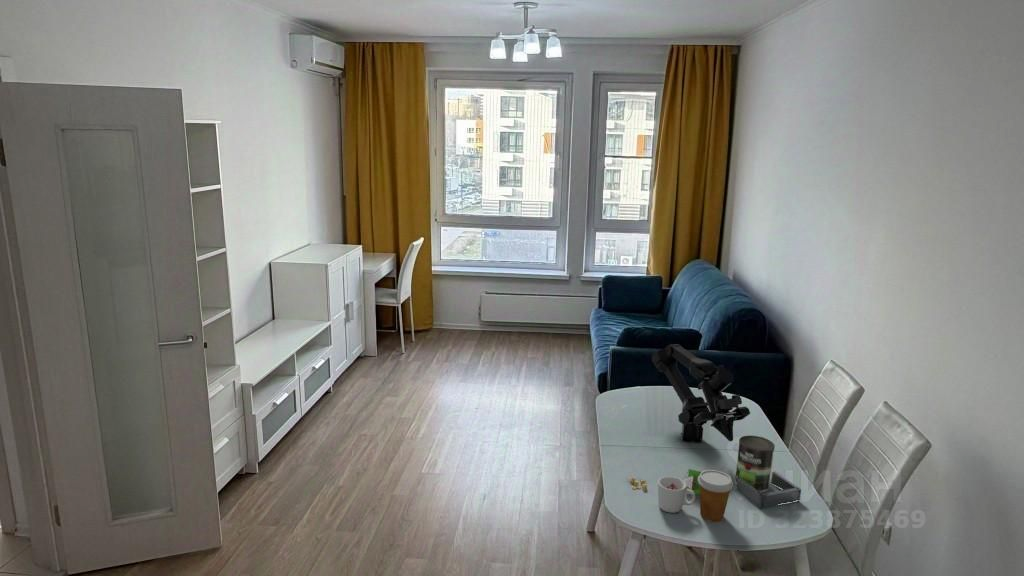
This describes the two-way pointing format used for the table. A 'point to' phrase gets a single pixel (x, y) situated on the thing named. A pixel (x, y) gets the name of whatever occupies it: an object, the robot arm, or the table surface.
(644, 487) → the dice set
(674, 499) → the cup
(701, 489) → the disposable coffee cup
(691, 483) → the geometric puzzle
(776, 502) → the grey shallow tray
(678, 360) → the robot arm
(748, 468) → the coffee can
